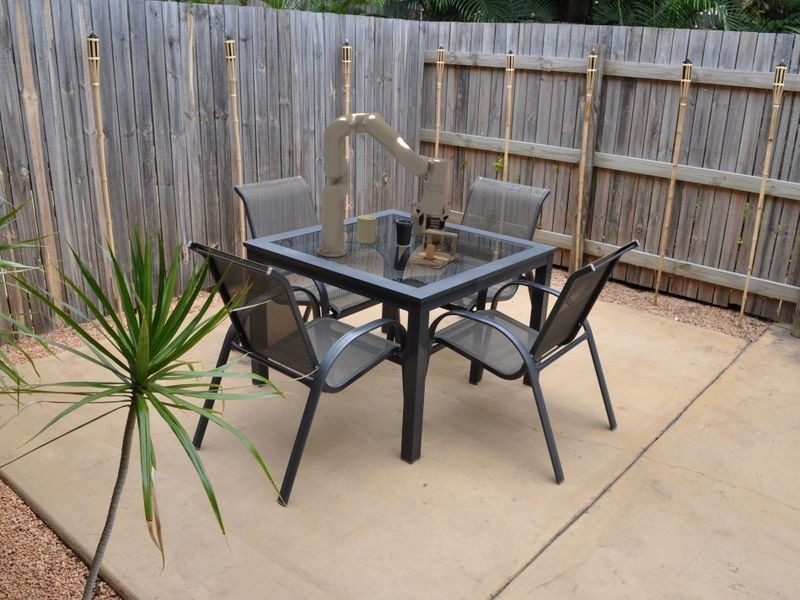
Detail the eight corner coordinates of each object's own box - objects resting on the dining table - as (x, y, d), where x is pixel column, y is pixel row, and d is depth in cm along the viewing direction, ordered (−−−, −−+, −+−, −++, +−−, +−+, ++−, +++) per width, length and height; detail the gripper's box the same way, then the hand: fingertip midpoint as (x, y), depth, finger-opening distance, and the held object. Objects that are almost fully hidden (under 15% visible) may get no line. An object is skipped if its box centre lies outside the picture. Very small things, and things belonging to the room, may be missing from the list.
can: (374, 244, 344) (376, 219, 340) (355, 242, 344) (356, 217, 340) (375, 239, 352) (377, 214, 349) (356, 237, 352) (357, 213, 348)
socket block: (437, 269, 313) (440, 242, 309) (408, 262, 319) (410, 236, 315) (455, 260, 328) (457, 234, 324) (427, 254, 334) (429, 228, 330)
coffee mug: (408, 231, 372) (410, 211, 369) (428, 232, 373) (429, 213, 370) (410, 237, 360) (411, 218, 356) (430, 239, 360) (432, 219, 357)
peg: (430, 264, 319) (432, 246, 316) (423, 263, 320) (425, 245, 317) (434, 262, 321) (435, 245, 319) (427, 261, 323) (429, 243, 320)
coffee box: (423, 250, 339) (426, 216, 333) (421, 247, 345) (424, 213, 339) (442, 251, 340) (445, 217, 334) (440, 248, 346) (443, 214, 340)
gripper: (413, 185, 310) (409, 224, 316) (450, 192, 303) (445, 232, 309) (421, 183, 317) (417, 221, 322) (457, 190, 309) (452, 229, 315)
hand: (430, 227), depth 315 cm, fingers open, 9 cm apart
